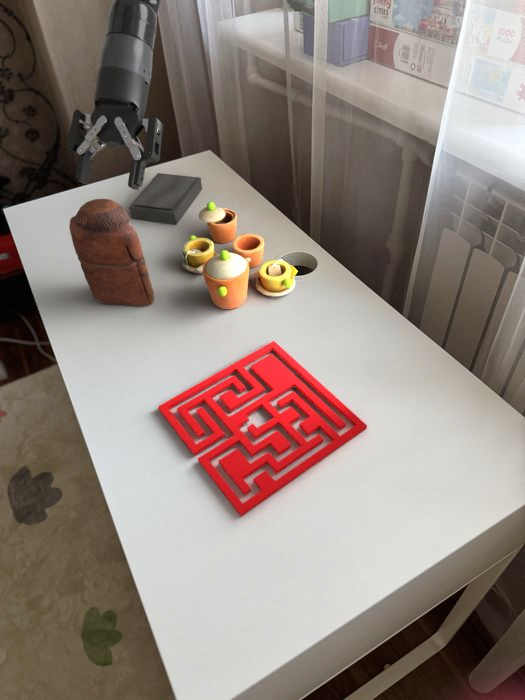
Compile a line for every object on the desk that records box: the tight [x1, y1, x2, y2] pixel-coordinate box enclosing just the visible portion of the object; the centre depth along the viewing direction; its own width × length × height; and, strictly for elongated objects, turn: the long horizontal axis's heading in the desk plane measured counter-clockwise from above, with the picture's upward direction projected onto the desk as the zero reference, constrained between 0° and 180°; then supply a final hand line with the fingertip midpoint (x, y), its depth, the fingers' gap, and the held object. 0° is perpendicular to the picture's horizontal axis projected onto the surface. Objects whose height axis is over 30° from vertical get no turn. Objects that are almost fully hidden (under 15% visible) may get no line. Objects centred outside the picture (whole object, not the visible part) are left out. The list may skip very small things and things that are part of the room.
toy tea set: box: [181, 201, 299, 310], centre depth 92 cm, size 26×16×10 cm, turn 31°
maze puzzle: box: [157, 340, 368, 517], centre depth 72 cm, size 20×20×1 cm
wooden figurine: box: [68, 198, 155, 307], centre depth 85 cm, size 12×6×18 cm, turn 81°
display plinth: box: [128, 172, 203, 226], centre depth 110 cm, size 10×14×3 cm
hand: (108, 185), depth 80 cm, fingers open, 8 cm apart
